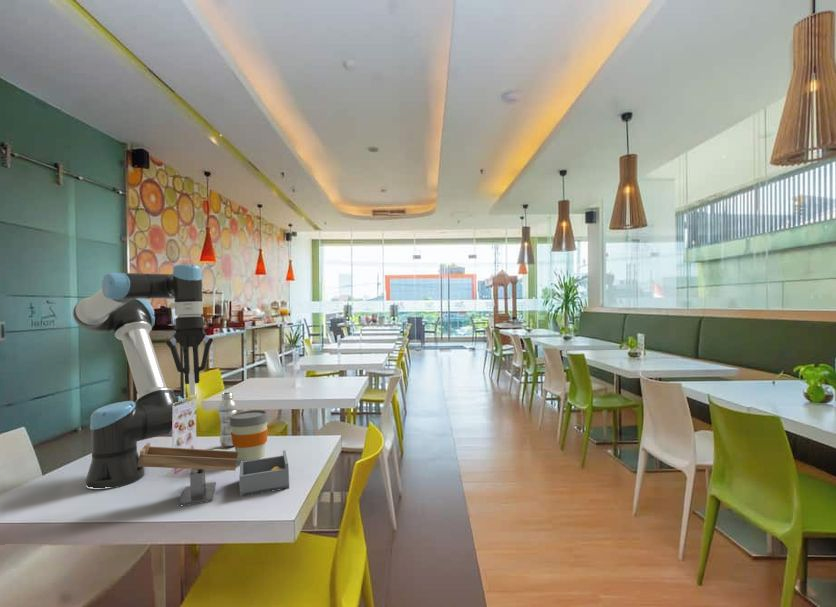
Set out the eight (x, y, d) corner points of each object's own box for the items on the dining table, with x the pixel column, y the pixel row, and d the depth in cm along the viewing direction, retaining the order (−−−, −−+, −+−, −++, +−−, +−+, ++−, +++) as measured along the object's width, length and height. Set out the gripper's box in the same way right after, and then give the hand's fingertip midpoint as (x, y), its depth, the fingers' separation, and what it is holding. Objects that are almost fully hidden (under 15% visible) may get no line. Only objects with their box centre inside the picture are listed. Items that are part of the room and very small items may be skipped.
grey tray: (241, 480, 136) (240, 456, 136) (286, 472, 141) (285, 450, 141) (240, 496, 124) (239, 471, 124) (289, 488, 129) (288, 463, 129)
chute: (149, 453, 133) (153, 435, 133) (236, 457, 141) (239, 440, 141) (135, 471, 118) (139, 451, 118) (234, 475, 125) (237, 456, 126)
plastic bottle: (240, 446, 170) (238, 393, 170) (221, 450, 167) (219, 395, 167) (237, 442, 176) (235, 390, 176) (218, 445, 172) (216, 393, 172)
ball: (271, 482, 134) (265, 472, 133) (280, 474, 136) (274, 464, 136) (278, 482, 131) (272, 471, 131) (287, 473, 134) (281, 463, 134)
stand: (185, 489, 131) (184, 465, 131) (215, 484, 134) (214, 460, 134) (179, 506, 120) (178, 479, 120) (212, 500, 122) (211, 474, 122)
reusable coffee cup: (277, 452, 161) (275, 410, 161) (254, 464, 149) (252, 419, 149) (247, 450, 165) (245, 409, 165) (223, 462, 153) (221, 418, 153)
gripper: (162, 317, 131) (166, 399, 131) (211, 315, 135) (215, 394, 135) (167, 317, 138) (170, 394, 138) (214, 315, 142) (217, 390, 142)
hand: (192, 394), depth 136 cm, fingers closed
